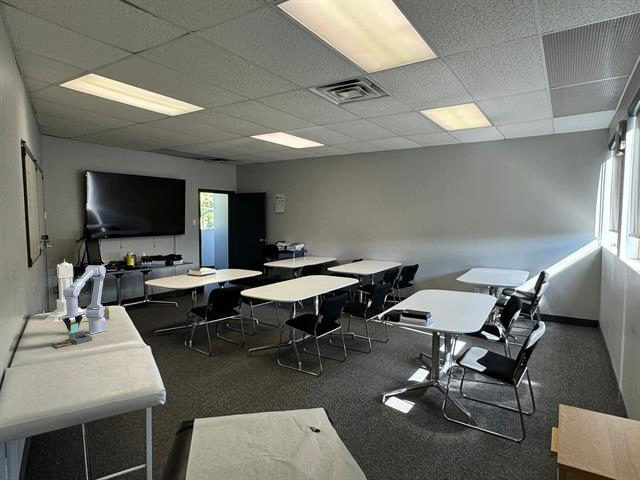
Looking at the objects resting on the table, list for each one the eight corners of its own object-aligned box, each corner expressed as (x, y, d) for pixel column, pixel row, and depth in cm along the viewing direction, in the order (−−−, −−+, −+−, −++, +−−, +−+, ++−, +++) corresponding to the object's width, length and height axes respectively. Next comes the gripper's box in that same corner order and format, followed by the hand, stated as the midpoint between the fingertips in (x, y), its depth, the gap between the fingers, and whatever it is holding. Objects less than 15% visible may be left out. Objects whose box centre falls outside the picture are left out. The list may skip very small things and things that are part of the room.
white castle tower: (93, 316, 274) (90, 258, 271) (47, 324, 254) (43, 261, 251) (84, 309, 294) (82, 255, 291) (41, 316, 274) (38, 257, 271)
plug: (75, 330, 220) (74, 321, 220) (78, 331, 218) (78, 322, 218) (68, 331, 217) (67, 322, 216) (71, 333, 215) (70, 324, 214)
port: (83, 336, 229) (83, 330, 229) (92, 340, 221) (91, 334, 221) (68, 339, 222) (68, 333, 222) (76, 344, 215) (76, 338, 214)
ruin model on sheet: (109, 319, 269) (108, 306, 268) (109, 320, 266) (109, 307, 266) (91, 321, 262) (90, 308, 262) (91, 322, 260) (90, 309, 259)
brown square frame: (67, 342, 218) (67, 340, 218) (71, 345, 214) (71, 343, 214) (52, 345, 212) (52, 344, 212) (57, 348, 208) (56, 347, 208)
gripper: (81, 303, 224) (82, 324, 225) (55, 308, 212) (56, 331, 213) (87, 305, 221) (88, 326, 222) (60, 310, 208) (62, 333, 209)
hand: (73, 329), depth 217 cm, fingers closed on plug, 4 cm apart
